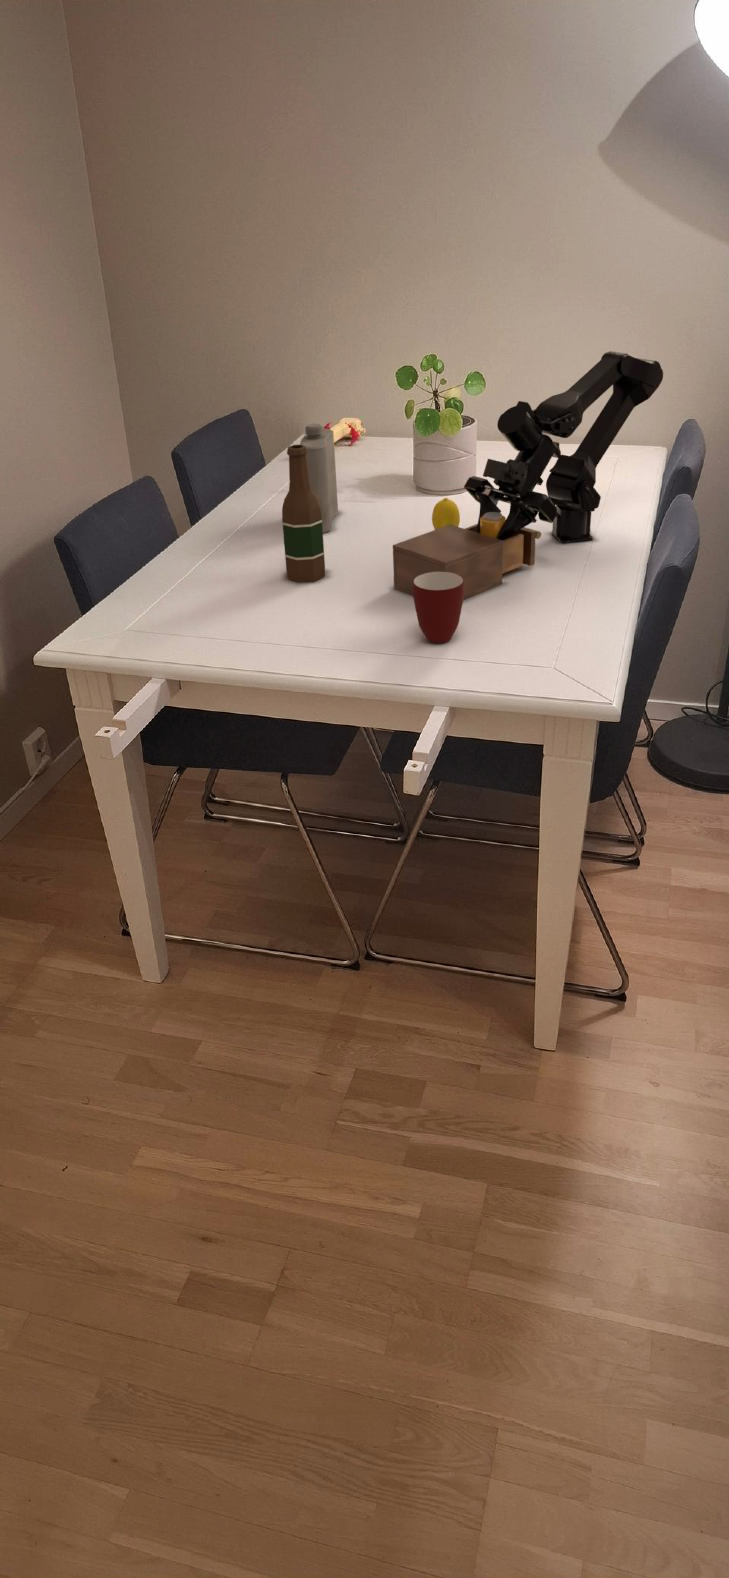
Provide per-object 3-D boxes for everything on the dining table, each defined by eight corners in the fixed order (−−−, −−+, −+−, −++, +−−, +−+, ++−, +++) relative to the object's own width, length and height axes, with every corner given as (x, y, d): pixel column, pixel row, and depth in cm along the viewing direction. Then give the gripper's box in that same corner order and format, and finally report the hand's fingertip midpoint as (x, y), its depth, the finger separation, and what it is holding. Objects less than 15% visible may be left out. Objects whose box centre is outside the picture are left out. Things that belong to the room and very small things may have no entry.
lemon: (457, 542, 217) (457, 502, 213) (430, 541, 218) (429, 502, 214) (461, 533, 222) (461, 494, 218) (434, 532, 223) (433, 493, 219)
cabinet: (450, 566, 206) (450, 524, 202) (502, 584, 198) (503, 540, 193) (393, 588, 198) (392, 545, 194) (445, 607, 190) (445, 562, 185)
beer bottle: (332, 570, 207) (325, 441, 195) (318, 585, 201) (309, 453, 189) (295, 566, 210) (284, 439, 197) (279, 581, 204) (267, 451, 191)
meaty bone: (333, 465, 271) (373, 432, 289) (330, 430, 266) (371, 398, 284) (298, 462, 275) (340, 429, 293) (294, 428, 270) (337, 396, 287)
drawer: (503, 543, 213) (503, 511, 210) (550, 558, 205) (552, 524, 202) (437, 568, 203) (437, 535, 200) (484, 584, 195) (485, 550, 192)
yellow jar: (500, 546, 205) (501, 509, 201) (507, 554, 201) (508, 517, 197) (477, 549, 204) (477, 512, 200) (483, 557, 200) (483, 520, 197)
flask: (313, 510, 238) (306, 416, 228) (339, 510, 237) (334, 416, 227) (302, 534, 226) (294, 435, 215) (330, 533, 225) (323, 434, 214)
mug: (418, 622, 185) (417, 565, 180) (466, 623, 184) (466, 566, 179) (411, 648, 176) (410, 590, 171) (461, 649, 175) (461, 590, 170)
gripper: (470, 431, 200) (428, 505, 200) (549, 449, 188) (505, 528, 188) (499, 465, 209) (458, 536, 209) (576, 484, 197) (533, 559, 197)
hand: (487, 539), depth 200 cm, fingers closed on yellow jar, 4 cm apart
